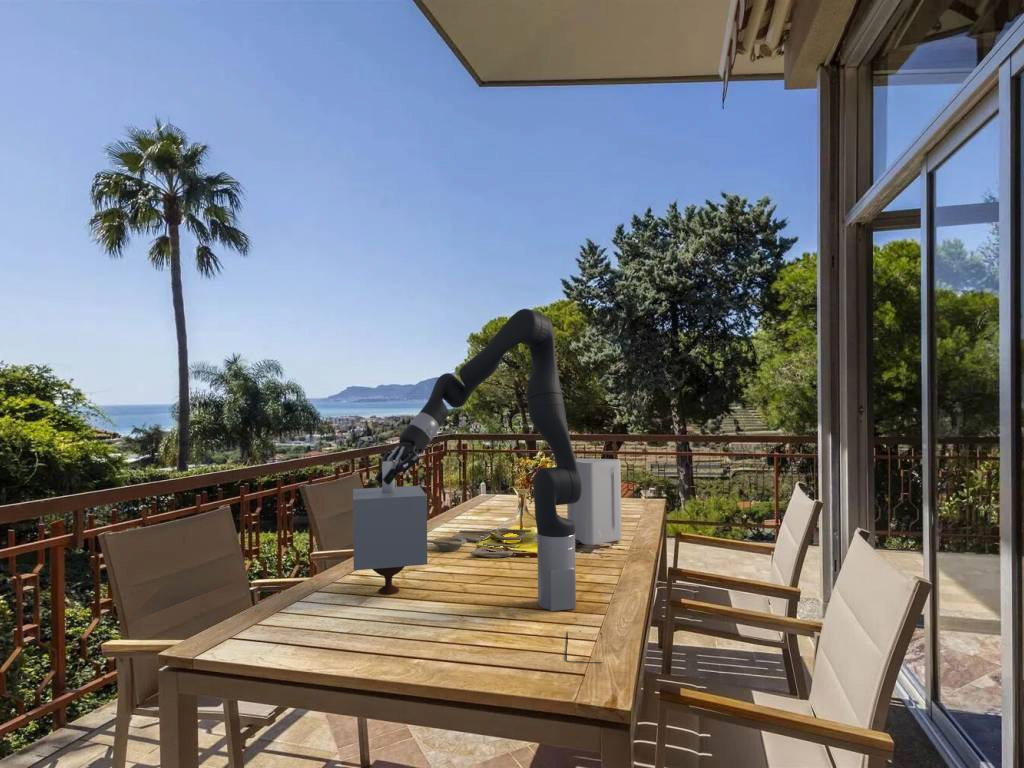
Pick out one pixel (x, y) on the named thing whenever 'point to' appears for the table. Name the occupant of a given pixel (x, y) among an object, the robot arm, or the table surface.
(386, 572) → the ice cream bowl
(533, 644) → the table surface
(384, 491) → the cover
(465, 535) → the tableware set
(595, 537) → the grey tall block
